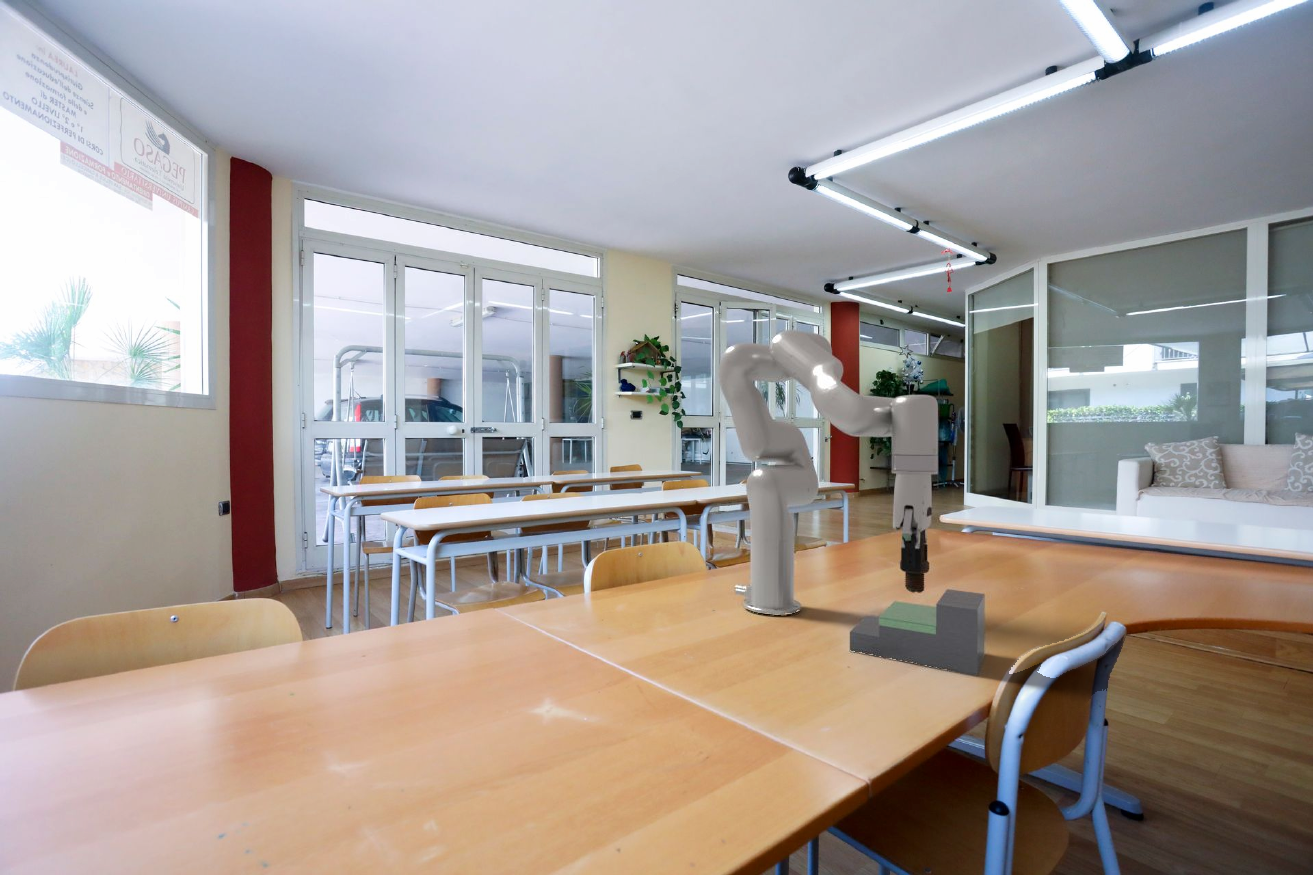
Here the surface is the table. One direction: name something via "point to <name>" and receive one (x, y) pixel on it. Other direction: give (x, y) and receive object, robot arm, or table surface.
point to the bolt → (917, 579)
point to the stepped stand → (928, 633)
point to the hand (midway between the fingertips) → (914, 567)
